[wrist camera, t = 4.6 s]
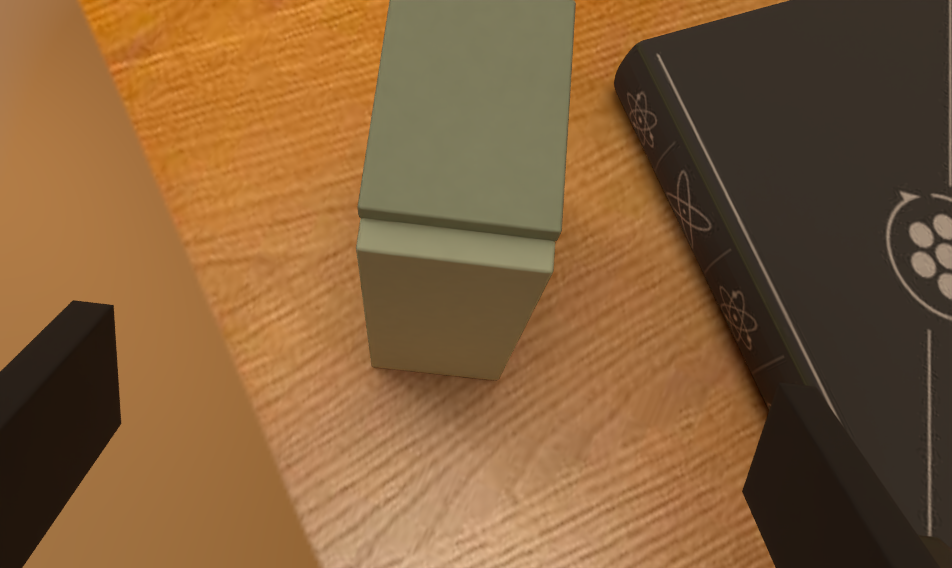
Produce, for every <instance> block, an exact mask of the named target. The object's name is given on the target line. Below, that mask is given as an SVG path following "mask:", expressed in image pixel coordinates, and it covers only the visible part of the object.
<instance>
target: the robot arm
mask: <svg viewBox="0 0 952 568" xmlns="http://www.w3.org/2000/svg"><path fill="white" fill-rule="evenodd" d="M119 399H120V398H119V383H118V368H117V352H116V336H115V321H114V306H113V305H107V304H99V303H91V302H82V301H72V302H71V303H70V304H69V305H68V306H67V307H66V308H65V309H64V310H63V311H62V312H61V313H60V314H59V315H58V316H57V317H56V318H55V319H54V320H53V321H52V322H51V323H49V324H48V326H46V327H45V328H44V329H43V330H42V331H41V332H40V333H39V334H38V335H37V336H36V337H35V338H34V339H33V340H32V341H31V342H30V343H29V344H28V345H27V346H26V347H25V348H24V349H23V350H22V351H21V352H20V353H19V354H18V355H17V356H16V357H15V358H14V359H13V360H12V361H11V362H10V363H9V364H8V365H7V366H6V367H5V368H4V369H3V370H2V371H1V372H0V568H22V567H23V566H24V564H25V563H26V561H27V560H28V559H29V557H30V556H31V554H32V553H33V551H34V550H35V548H36V547H37V545H38V544H39V543H40V541H41V540H42V538H43V537H44V535H45V534H46V532H47V531H48V529H49V528H50V526H51V525H52V524H53V522H54V521H55V519H56V518H57V516H58V515H59V513H60V512H61V511H62V509H63V508H64V506H65V505H66V503H67V502H68V500H69V499H70V497H71V496H72V494H73V493H74V492H75V490H76V488H77V487H78V486H79V484H80V483H81V481H82V480H83V478H84V477H85V475H86V474H87V473H88V471H89V470H90V468H91V467H92V465H93V464H94V463H95V461H96V460H97V458H98V457H99V455H100V454H101V452H102V451H103V449H104V448H105V447H106V445H107V444H108V442H109V441H110V439H111V438H112V436H113V435H114V433H115V432H116V431H117V429H118V427H119V426H120V425H121V414H120V400H119ZM742 492H743V494H744V497H745V499H746V501H747V503H748V506H749V508H750V510H751V513H752V515H753V517H754V519H755V522H756V524H757V526H758V528H759V531H760V533H761V535H762V538H763V540H764V542H765V544H766V547H767V549H768V551H769V553H770V556H771V558H772V560H773V562H774V565H775V567H776V568H952V549H951V548H950V547H949V546H948V545H946V544H945V543H944V542H943V541H942V540H940V539H939V538H938V537H931V536H922V535H918V534H917V533H916V532H915V530H914V529H913V527H912V526H911V524H910V523H909V521H908V520H907V518H906V517H905V516H904V514H903V513H902V511H901V510H900V508H899V507H898V505H897V504H896V502H895V501H894V500H893V498H892V497H891V495H890V494H889V492H888V491H887V489H886V488H885V486H884V485H883V484H882V482H881V481H880V479H879V478H878V476H877V475H876V473H875V472H874V470H873V469H872V468H871V466H870V465H869V463H868V462H867V460H866V459H865V457H864V456H863V454H862V453H861V451H860V450H859V449H858V447H857V446H856V444H855V443H854V441H853V440H852V438H851V437H850V435H849V434H848V433H847V431H846V430H845V428H844V427H843V425H842V424H841V422H840V421H839V419H838V418H837V417H836V415H835V414H834V412H833V411H832V409H831V408H830V406H829V405H828V403H827V402H826V401H825V399H824V398H823V396H822V395H821V393H820V392H819V390H818V389H817V387H815V386H806V385H798V384H789V383H780V382H779V383H778V386H777V389H776V392H775V395H774V398H773V401H772V404H771V407H770V410H769V413H768V416H767V419H766V422H765V425H764V428H763V431H762V434H761V437H760V440H759V443H758V446H757V449H756V452H755V455H754V458H753V461H752V464H751V467H750V470H749V473H748V476H747V479H746V482H745V485H744V488H743V491H742Z"/></svg>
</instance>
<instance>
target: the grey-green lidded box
mask: <svg viewBox="0 0 952 568" xmlns="http://www.w3.org/2000/svg"><path fill="white" fill-rule="evenodd" d="M575 5H576V3H575V1H574V0H390V2H389V8H388V15H387V21H386V28H385V34H384V40H383V47H382V53H381V60H380V66H379V73H378V79H377V85H376V92H375V98H374V105H373V111H372V117H371V124H370V130H369V137H368V143H367V150H366V156H365V162H364V169H363V175H362V182H361V188H360V194H359V201H358V214H359V217H360V218H361V219H360V225H359V232H358V238H357V245H356V251H357V259H358V266H359V274H360V281H361V289H362V297H363V304H364V312H365V320H366V327H367V335H368V342H369V350H370V358H371V365H372V366H373V367H378V368H387V369H396V370H405V371H414V372H423V373H432V374H441V375H450V376H459V377H468V378H477V379H486V380H495V381H497V380H499V378H500V376H501V374H502V372H503V370H504V368H505V366H506V364H507V362H508V360H509V358H510V356H511V354H512V352H513V350H514V348H515V346H516V344H517V342H518V340H519V338H520V336H521V334H522V332H523V330H524V328H525V326H526V324H527V322H528V320H529V318H530V316H531V314H532V312H533V310H534V309H535V307H536V305H537V303H538V301H539V299H540V297H541V295H542V293H543V291H544V289H545V287H546V285H547V283H548V281H549V279H550V277H551V275H552V273H553V270H554V254H555V241H557V240H558V238H559V236H560V234H561V231H562V218H563V202H564V185H565V169H566V153H567V136H568V120H569V104H570V87H571V71H572V55H573V38H574V22H575Z"/></svg>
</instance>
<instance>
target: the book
mask: <svg viewBox="0 0 952 568" xmlns="http://www.w3.org/2000/svg"><path fill="white" fill-rule="evenodd" d="M614 87H615V90H616V92H617V95H618V97H619V99H620V101H621V103H622V105H623V107H624V109H625V111H626V113H627V115H628V117H629V120H630V122H631V124H632V126H633V128H634V130H635V132H636V134H637V136H638V138H639V140H640V142H641V145H642V147H643V149H644V151H645V153H646V155H647V157H648V159H649V161H650V163H651V165H652V167H653V170H654V172H655V174H656V176H657V178H658V180H659V182H660V184H661V186H662V188H663V190H664V192H665V195H666V197H667V199H668V201H669V203H670V205H671V207H672V209H673V211H674V213H675V215H676V217H677V220H678V222H679V224H680V226H681V228H682V230H683V232H684V234H685V236H686V238H687V240H688V242H689V245H690V247H691V249H692V251H693V253H694V255H695V257H696V259H697V261H698V263H699V265H700V267H701V270H702V272H703V274H704V276H705V278H706V280H707V282H708V284H709V286H710V288H711V290H712V292H713V295H714V297H715V299H716V301H717V303H718V305H719V307H720V309H721V311H722V313H723V315H724V317H725V320H726V322H727V324H728V326H729V328H730V330H731V332H732V334H733V336H734V338H735V340H736V342H737V345H738V347H739V349H740V351H741V353H742V355H743V357H744V359H745V361H746V363H747V365H748V367H749V370H750V372H751V374H752V376H753V378H754V380H755V382H756V384H757V386H758V388H759V390H760V392H761V395H762V397H763V399H764V401H765V403H766V405H767V407H768V409H769V410H770V407H771V404H772V401H773V398H774V395H775V392H776V389H777V386H778V383H779V382H780V383H789V384H798V385H806V386H815V387H817V389H818V390H819V392H820V393H821V395H822V396H823V398H824V399H825V401H826V402H827V403H828V405H829V406H830V408H831V409H832V411H833V412H834V414H835V415H836V417H837V418H838V419H839V421H840V422H841V424H842V425H843V427H844V428H845V430H846V431H847V433H848V434H849V435H850V437H851V438H852V440H853V441H854V443H855V444H856V446H857V447H858V449H859V450H860V451H861V453H862V454H863V456H864V457H865V459H866V460H867V462H868V463H869V465H870V466H871V468H872V469H873V470H874V472H875V473H876V475H877V476H878V478H879V479H880V481H881V482H882V484H883V485H884V486H885V488H886V489H887V491H888V492H889V494H890V495H891V497H892V498H893V500H894V501H895V502H896V504H897V505H898V507H899V508H900V510H901V511H902V513H903V514H904V516H905V517H906V518H907V520H908V521H909V523H910V524H911V526H912V527H913V529H914V530H915V532H916V533H917V534H918V535H922V536H931V537H938V538H939V539H940V540H942V541H943V542H944V543H945V544H946V545H948V546H949V547H950V548H951V549H952V0H790V1H786V2H782V3H779V4H775V5H771V6H768V7H764V8H760V9H757V10H753V11H749V12H746V13H742V14H738V15H735V16H731V17H727V18H724V19H720V20H716V21H713V22H709V23H705V24H702V25H698V26H694V27H691V28H687V29H683V30H680V31H676V32H672V33H669V34H665V35H661V36H658V37H654V38H650V39H647V40H643V41H641V42H639V43H637V44H636V45H635V46H634V47H633V48H632V49H631V50H630V52H629V53H628V54H627V55H626V57H625V58H624V60H623V61H622V63H621V64H620V66H619V68H618V70H617V72H616V75H615V80H614Z"/></svg>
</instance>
